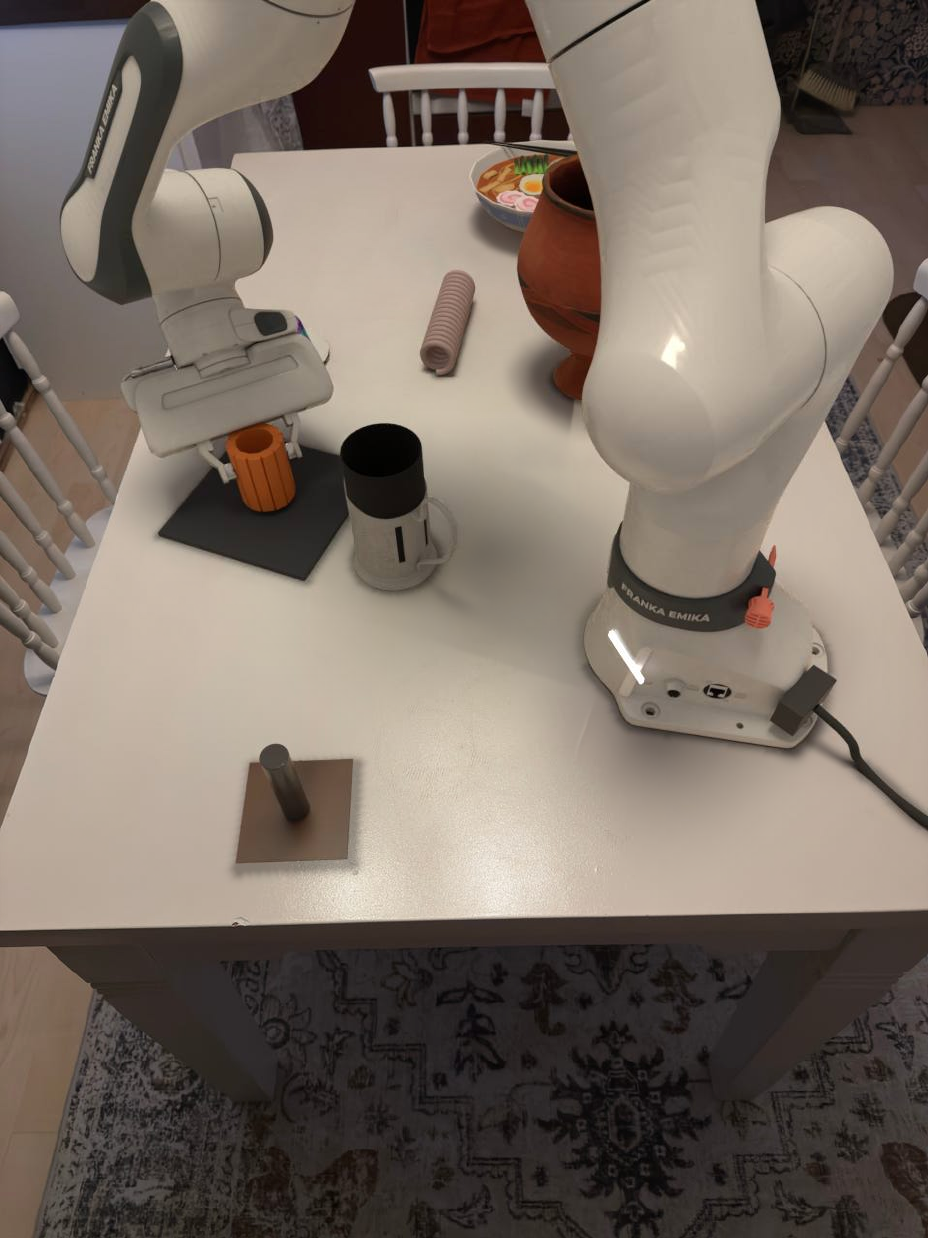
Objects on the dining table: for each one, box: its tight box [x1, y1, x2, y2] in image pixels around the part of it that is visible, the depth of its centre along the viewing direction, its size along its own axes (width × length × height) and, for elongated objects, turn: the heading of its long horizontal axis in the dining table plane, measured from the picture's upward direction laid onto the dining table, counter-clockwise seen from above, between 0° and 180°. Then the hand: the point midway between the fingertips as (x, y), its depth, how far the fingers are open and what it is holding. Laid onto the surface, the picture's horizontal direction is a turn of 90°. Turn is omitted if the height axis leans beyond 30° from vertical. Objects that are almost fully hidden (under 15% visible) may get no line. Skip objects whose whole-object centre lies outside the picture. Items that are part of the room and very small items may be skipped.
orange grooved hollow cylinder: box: [225, 422, 295, 512], centre depth 89 cm, size 6×6×8 cm
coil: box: [419, 269, 476, 376], centre depth 110 cm, size 5×5×18 cm
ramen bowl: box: [468, 139, 578, 234], centre depth 126 cm, size 25×23×8 cm
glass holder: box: [339, 422, 459, 592], centre depth 81 cm, size 9×14×15 cm, turn 43°
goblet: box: [516, 154, 601, 402], centre depth 95 cm, size 19×19×25 cm
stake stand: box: [235, 743, 354, 864], centre depth 66 cm, size 9×9×10 cm
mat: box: [157, 440, 349, 582], centre depth 93 cm, size 18×18×1 cm
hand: (263, 470), depth 89 cm, fingers closed on orange grooved hollow cylinder, 6 cm apart
